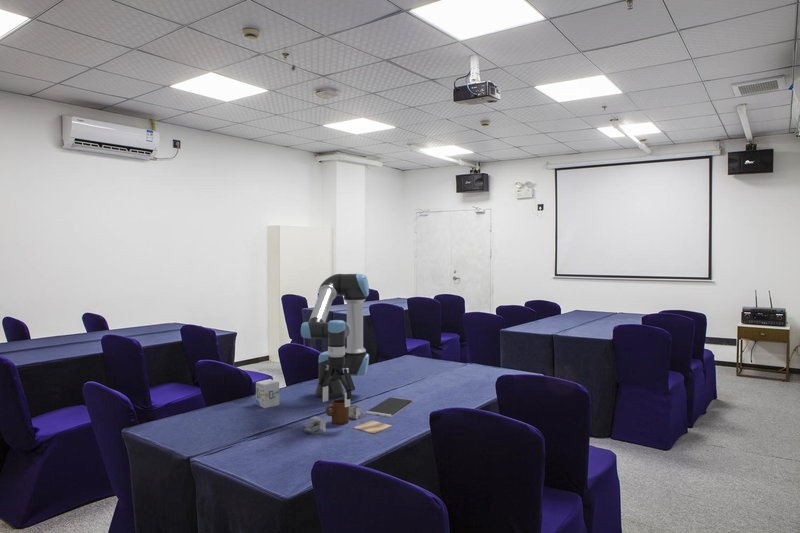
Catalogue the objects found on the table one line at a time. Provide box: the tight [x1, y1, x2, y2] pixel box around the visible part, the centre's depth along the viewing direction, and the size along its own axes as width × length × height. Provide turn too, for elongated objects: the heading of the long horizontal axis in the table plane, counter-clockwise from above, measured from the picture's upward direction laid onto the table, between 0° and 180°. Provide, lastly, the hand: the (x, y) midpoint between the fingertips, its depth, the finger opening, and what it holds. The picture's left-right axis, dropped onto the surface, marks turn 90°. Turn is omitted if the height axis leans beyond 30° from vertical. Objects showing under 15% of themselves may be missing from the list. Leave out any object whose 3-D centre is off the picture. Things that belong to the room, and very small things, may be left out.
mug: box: [325, 398, 350, 426], centre depth 222 cm, size 12×8×9 cm, turn 139°
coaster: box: [352, 419, 393, 435], centre depth 217 cm, size 12×12×1 cm
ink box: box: [255, 378, 280, 409], centre depth 250 cm, size 8×8×12 cm
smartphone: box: [365, 396, 414, 418], centre depth 246 cm, size 13×27×2 cm, turn 156°
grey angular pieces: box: [302, 404, 367, 436], centre depth 221 cm, size 7×33×5 cm, turn 142°
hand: (336, 403), depth 222 cm, fingers open, 13 cm apart
